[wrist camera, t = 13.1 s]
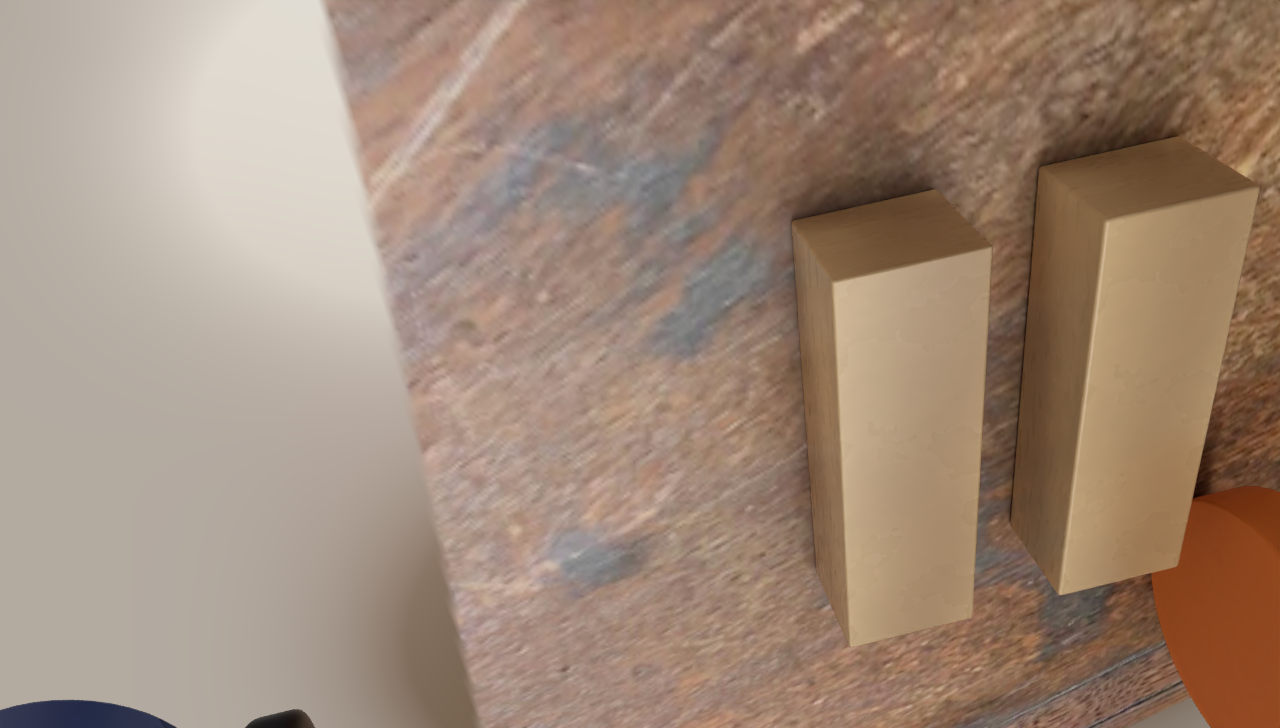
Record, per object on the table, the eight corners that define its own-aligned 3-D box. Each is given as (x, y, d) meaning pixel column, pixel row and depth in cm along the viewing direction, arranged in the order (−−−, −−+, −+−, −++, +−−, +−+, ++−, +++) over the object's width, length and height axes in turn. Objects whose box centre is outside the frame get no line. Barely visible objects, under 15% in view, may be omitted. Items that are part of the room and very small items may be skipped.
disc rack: (815, 572, 26) (849, 649, 24) (790, 219, 20) (832, 281, 18) (1120, 498, 27) (1178, 567, 25) (1179, 134, 21) (1262, 185, 19)
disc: (1124, 581, 30) (1266, 833, 25) (1203, 443, 24) (1403, 733, 20) (1173, 569, 30) (1324, 818, 25) (1263, 429, 24) (1475, 714, 20)
